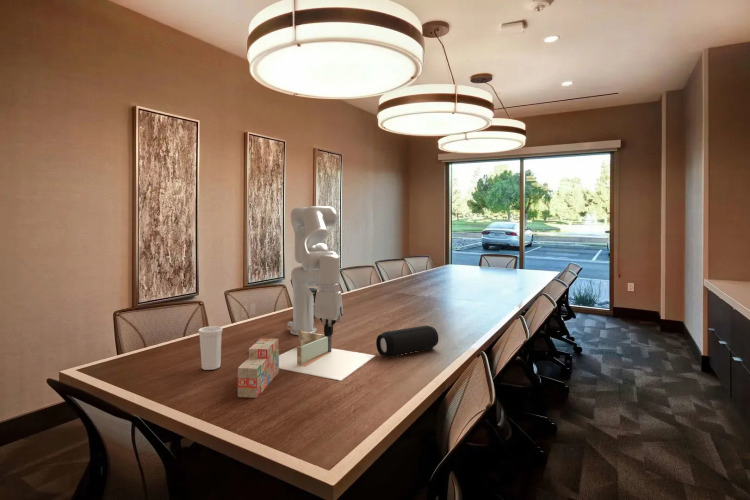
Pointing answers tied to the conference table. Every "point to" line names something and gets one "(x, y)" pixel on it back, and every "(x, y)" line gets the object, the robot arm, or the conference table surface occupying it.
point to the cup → (210, 347)
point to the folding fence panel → (312, 350)
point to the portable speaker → (406, 340)
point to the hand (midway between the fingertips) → (328, 335)
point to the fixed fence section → (312, 338)
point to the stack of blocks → (258, 368)
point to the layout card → (325, 363)
